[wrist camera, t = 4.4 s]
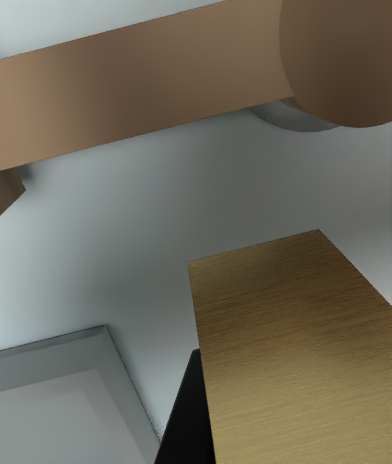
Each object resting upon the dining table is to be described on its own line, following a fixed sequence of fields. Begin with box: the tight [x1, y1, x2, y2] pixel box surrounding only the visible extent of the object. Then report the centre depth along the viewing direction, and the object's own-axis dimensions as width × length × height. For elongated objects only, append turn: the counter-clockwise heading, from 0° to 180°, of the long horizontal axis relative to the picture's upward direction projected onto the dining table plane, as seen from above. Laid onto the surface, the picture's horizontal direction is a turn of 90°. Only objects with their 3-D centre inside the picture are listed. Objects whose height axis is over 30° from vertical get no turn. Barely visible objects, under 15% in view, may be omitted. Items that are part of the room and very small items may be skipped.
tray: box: [0, 325, 160, 464], centre depth 18 cm, size 12×12×3 cm
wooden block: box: [187, 229, 392, 464], centre depth 7 cm, size 4×4×8 cm
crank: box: [0, 0, 392, 215], centre depth 10 cm, size 16×5×3 cm, turn 103°
